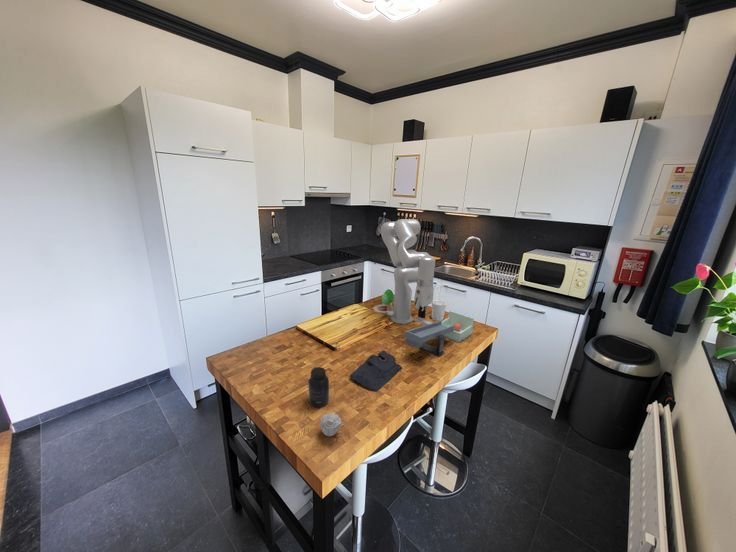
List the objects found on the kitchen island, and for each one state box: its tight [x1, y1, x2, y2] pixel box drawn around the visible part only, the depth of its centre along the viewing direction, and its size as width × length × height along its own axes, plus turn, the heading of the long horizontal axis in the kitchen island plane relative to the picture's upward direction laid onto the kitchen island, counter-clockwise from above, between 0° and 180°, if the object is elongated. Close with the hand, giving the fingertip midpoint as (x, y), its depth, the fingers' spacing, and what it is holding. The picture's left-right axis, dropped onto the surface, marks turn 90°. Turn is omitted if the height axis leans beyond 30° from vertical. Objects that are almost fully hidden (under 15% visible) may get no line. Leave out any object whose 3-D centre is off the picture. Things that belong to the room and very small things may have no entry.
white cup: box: [431, 299, 447, 322], centre depth 166 cm, size 8×8×10 cm
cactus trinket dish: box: [372, 289, 395, 314], centre depth 178 cm, size 15×14×14 cm
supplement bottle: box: [307, 366, 330, 408], centre depth 97 cm, size 7×7×12 cm
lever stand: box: [419, 335, 445, 358], centre depth 132 cm, size 13×5×9 cm, turn 46°
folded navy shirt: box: [350, 349, 403, 392], centre depth 115 cm, size 15×22×5 cm
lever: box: [403, 317, 455, 349], centre depth 134 cm, size 16×30×5 cm, turn 136°
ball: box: [454, 323, 461, 331], centre depth 151 cm, size 4×4×4 cm
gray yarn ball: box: [319, 413, 342, 437], centre depth 85 cm, size 6×7×7 cm
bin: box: [441, 310, 475, 344], centre depth 148 cm, size 14×14×9 cm
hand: (421, 317), depth 141 cm, fingers closed
